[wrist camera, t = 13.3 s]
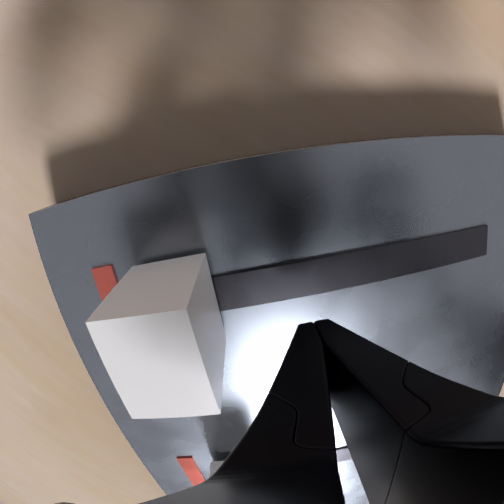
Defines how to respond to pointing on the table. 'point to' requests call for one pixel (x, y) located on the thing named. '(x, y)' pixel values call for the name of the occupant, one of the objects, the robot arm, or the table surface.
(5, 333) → the table surface
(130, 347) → the handle
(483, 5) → the table surface
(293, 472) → the robot arm
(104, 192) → the panel
